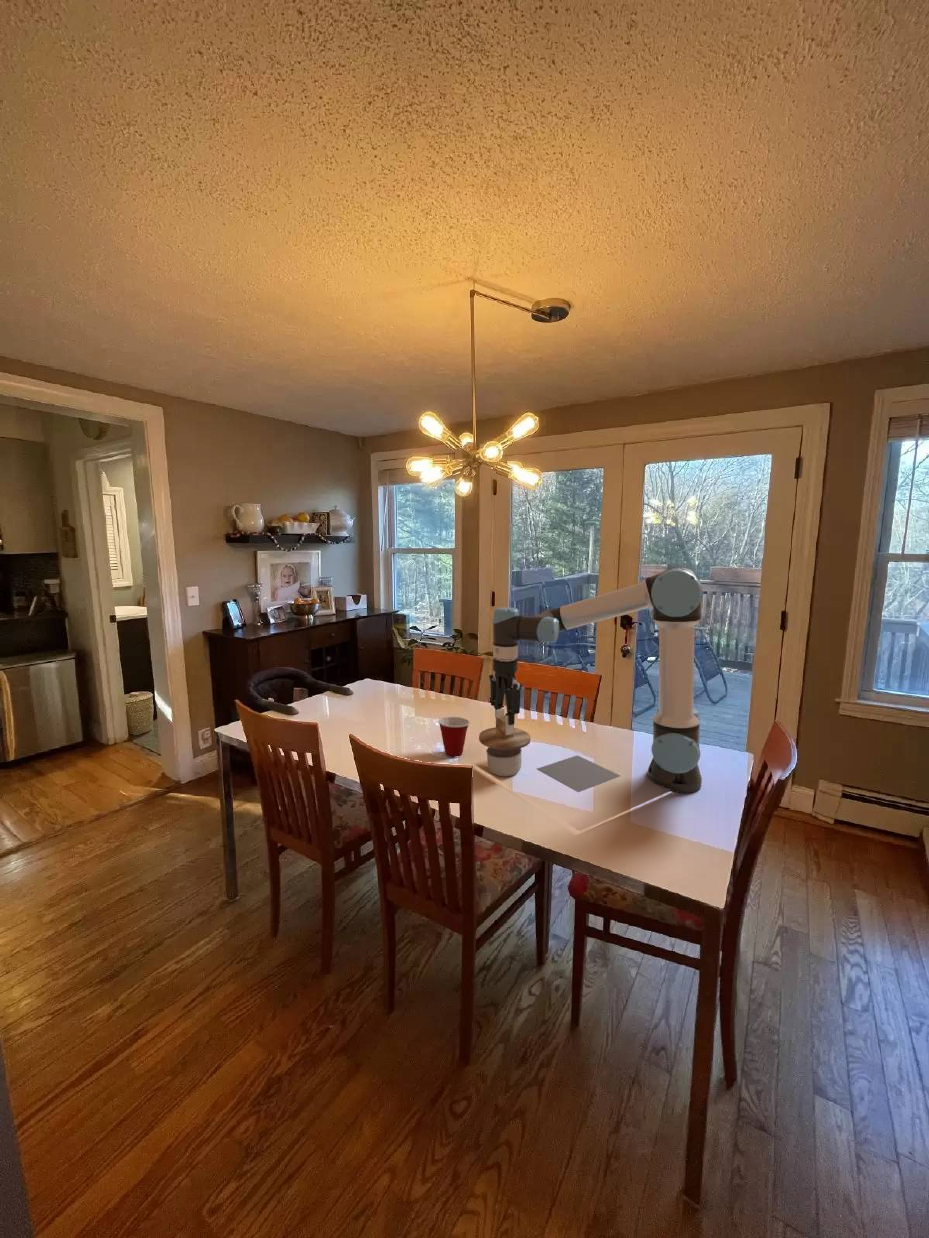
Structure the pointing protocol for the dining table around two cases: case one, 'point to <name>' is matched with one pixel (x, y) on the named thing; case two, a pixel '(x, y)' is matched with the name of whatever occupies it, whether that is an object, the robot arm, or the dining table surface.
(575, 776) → the mat
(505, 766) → the teacup
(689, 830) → the dining table surface
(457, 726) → the plastic cup
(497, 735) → the lid
